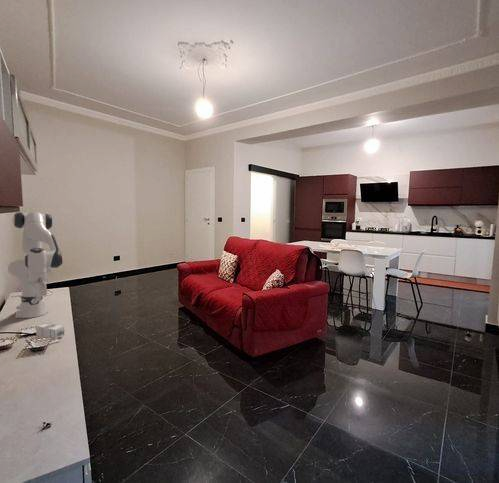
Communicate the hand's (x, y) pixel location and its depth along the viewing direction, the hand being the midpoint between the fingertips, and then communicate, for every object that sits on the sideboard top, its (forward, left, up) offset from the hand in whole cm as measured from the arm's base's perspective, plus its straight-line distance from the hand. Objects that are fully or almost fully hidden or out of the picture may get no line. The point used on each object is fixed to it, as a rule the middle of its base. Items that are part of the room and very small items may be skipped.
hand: (38, 300), depth 169 cm
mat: (+8, 0, -22) cm, 23 cm away
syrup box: (-2, +1, -18) cm, 18 cm away
